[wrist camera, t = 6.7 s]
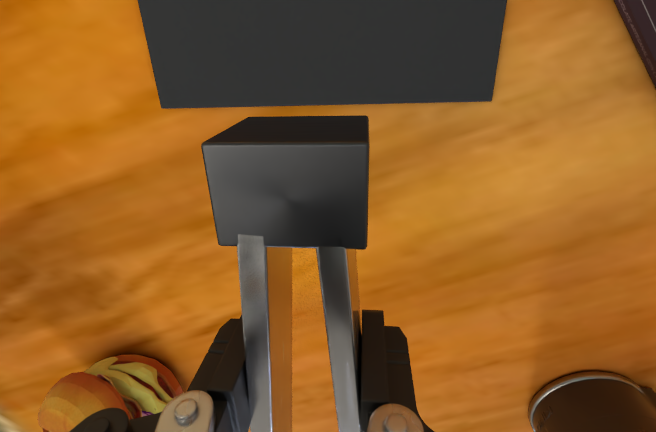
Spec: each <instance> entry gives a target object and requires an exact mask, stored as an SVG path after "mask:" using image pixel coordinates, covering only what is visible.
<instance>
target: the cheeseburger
mask: <svg viewBox="0 0 656 432" xmlns="http://www.w3.org/2000/svg"><path fill="white" fill-rule="evenodd" d="M182 393H183V391H182V388H181V386H180V384H179V382H178V381H177V379H176V378H175V376H174V375H173V373H172V372H171V370H169V369H168V368H167V367H165V366H164V365H162V364H161V363H159V362H158V361H157V360H155V359H152V358H148V357H144V356H140V355H137V354H135V355H119V356H116V357H110V358H106V359H104V360H101V361H99V362H97V363H95V364H93V365H92V366H91V367H90V368H89V369H87V370H86V371H84V372H78V373H71V374H69V375H67V376H66V377H64V378H62V379H60V380H59V381H58V382H57V383H56V384H55V385H54V386H53V387H52V388H51V389H50V391H49V392H48V394H47V396H46V398H45V399H44V401H43V403H42V405H41V407H40V410H39V413H38V422H39V425H40V426H41V427H42V428H43V432H69V431H71V430H72V429H73V428H74V427H75V426H77V425H78V424H79V423H80V422H81V421H83V420H84V419H85V418H87V417H88V416H90V415H91V414H93V413H95V412H97V411H100V410H102V409H106V408H120V409H122V410H124V411H125V412H126V414H127V415H128V418H129V420H130V419H134V418H139V417H143V416H148V415H152V414H156V413H159V412H162V411H163V409H164V407H165V406H166V405H167V404H168V403H169V402H170V401H171V400H172V399H173V398H175V397H176V396H178V395H180V394H182Z"/></svg>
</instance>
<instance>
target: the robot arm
mask: <svg viewBox="0 0 656 432" xmlns="http://www.w3.org/2000/svg"><path fill="white" fill-rule="evenodd" d="M528 418H529V421H530V424H531V426H532V428H533V430H534V432H656V393H655V392H654V391H653V390H652V389H651V388H645V387H639V386H638V385H637V384H636V383H634V382H633V381H631V380H630V379H628V378H626V377H624V376H621V375H618V374H614V373H609V372H597V371H593V372H582V373H576V374H572V375H568V376H565V377H562V378H560V379H557V380H555V381H553V382H551V383H550V384H548V385H547V386H545V387H544V388H543V389H541V390H540V391H539V392H538V393H537V394H536V395H535V397H534V398H533V399H532V401H531V403H530V406H529V410H528ZM250 423H251V416H250V409H249V401H248V388H247V375H246V361H245V348H244V334H243V320H242V315H241V317H240V319H230V320H229V321H228V322H227V323H226V324H224V325H223V326H222V327H221V328H220V329H219V331H218V333H217V335H216V337H215V339H214V342H213V343H212V345H211V346H210V348H209V350H208V353H207V354H206V356H205V358H204V360H203V362H202V364H201V365H200V367H199V369H198V371H197V373H196V375H195V377H194V379H193V381H192V383H191V384H190V386H189V388H188V390H187V392H184V393H182V394H180V395H178V396H176V397H175V398H173V399H172V400H171V401H170V402H169V403H168V404H167V405H166V406H165V407H164V409H163V411H162V412H159V413H156V414H152V415H148V416H143V417H139V418H134V419H130V420H129V418H128V415H127V414H126V412H125V411H124V410H122V409H120V408H106V409H102V410H100V411H97V412H95V413H93V414H91V415H90V416H88V417H87V418H85V419H84V420H83V421H81V422H80V423H79V424H78V425H77V426H75V427H74V428H73V429H72V430H71V431H69V432H248V430H249V427H250ZM360 432H434V431H433V430H431V429H430V428H429V427H428V426H427V425H426V424H425V423H424V422H423V420H422V419H421V417H420V416H419V413H418V411H417V407H416V401H415V394H414V387H413V380H412V373H411V366H410V359H409V353H408V344H407V338H406V337H405V335H404V334H403V332H402V331H401V329H400V328H399V327H393V326H384V315H383V311H382V310H362V352H361V414H360Z"/></svg>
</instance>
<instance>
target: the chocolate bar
mask: <svg viewBox="0 0 656 432" xmlns="http://www.w3.org/2000/svg"><path fill="white" fill-rule="evenodd" d="M614 2H615V4H616V6H617V8H618V10H619V12H620V14H621V16H622V18H623V21H624V23H625V25H626V27H627V29H628V31H629V33H630V35H631V37H632V39H633V41H634V44H635V46H636V48H637V50H638V52H639V54H640V56H641V58H642V60H643V62H644V64H645V67H646V69H647V71H648V73H649V75H650V77H651V79H652V81H653V83H654V85H655V87H656V0H614Z"/></svg>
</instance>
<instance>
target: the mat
mask: <svg viewBox="0 0 656 432" xmlns="http://www.w3.org/2000/svg"><path fill="white" fill-rule="evenodd" d="M506 3H507V0H138V4H139V8H140V13H141V17H142V22H143V26H144V31H145V35H146V40H147V45H148V49H149V54H150V58H151V63H152V67H153V72H154V76H155V81H156V86H157V90H158V95H159V99H160V104H161V108H209V107H254V106H299V105H345V104H390V103H435V102H481V101H492V96H493V89H494V83H495V76H496V69H497V63H498V56H499V49H500V43H501V36H502V30H503V23H504V16H505V10H506Z"/></svg>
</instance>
